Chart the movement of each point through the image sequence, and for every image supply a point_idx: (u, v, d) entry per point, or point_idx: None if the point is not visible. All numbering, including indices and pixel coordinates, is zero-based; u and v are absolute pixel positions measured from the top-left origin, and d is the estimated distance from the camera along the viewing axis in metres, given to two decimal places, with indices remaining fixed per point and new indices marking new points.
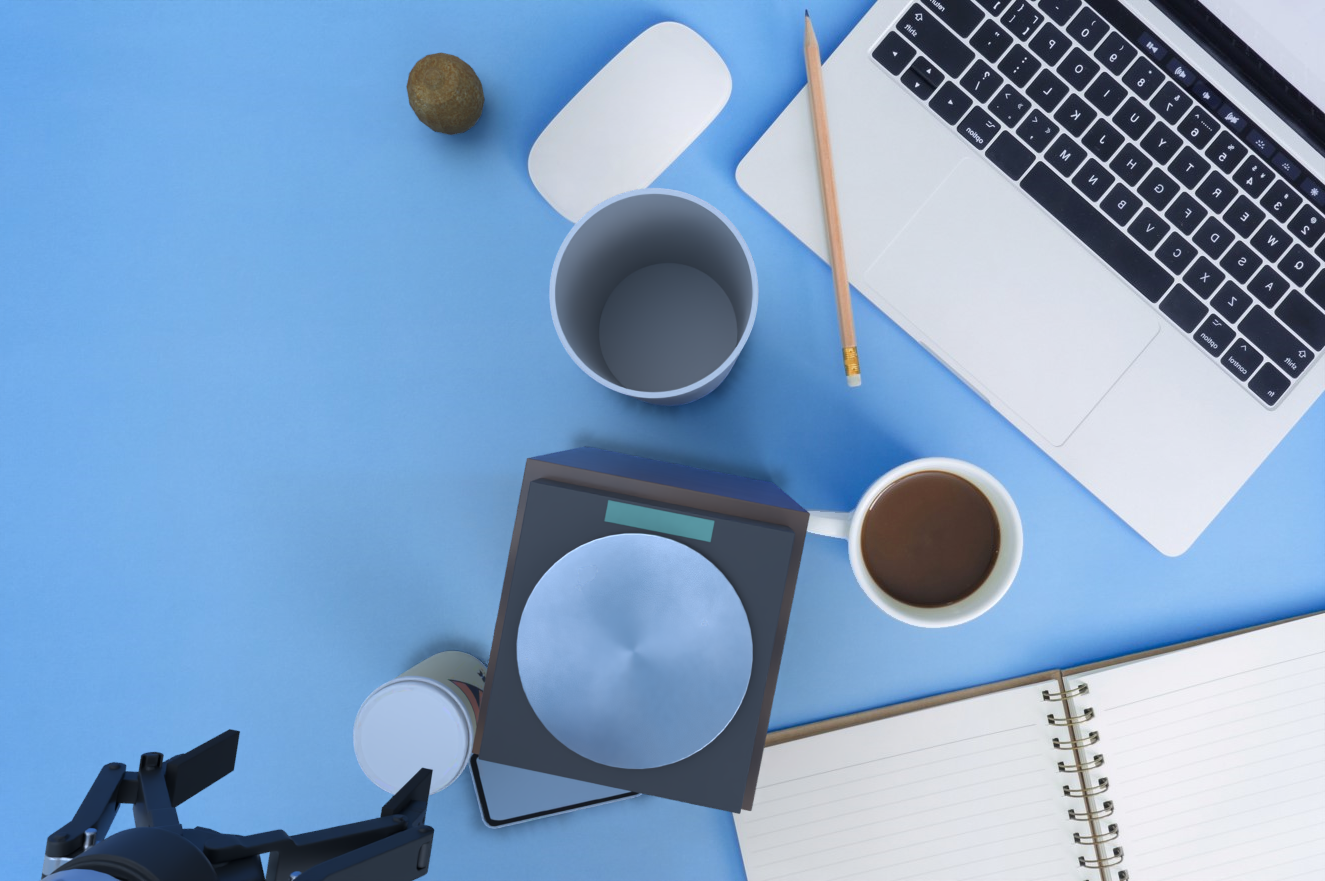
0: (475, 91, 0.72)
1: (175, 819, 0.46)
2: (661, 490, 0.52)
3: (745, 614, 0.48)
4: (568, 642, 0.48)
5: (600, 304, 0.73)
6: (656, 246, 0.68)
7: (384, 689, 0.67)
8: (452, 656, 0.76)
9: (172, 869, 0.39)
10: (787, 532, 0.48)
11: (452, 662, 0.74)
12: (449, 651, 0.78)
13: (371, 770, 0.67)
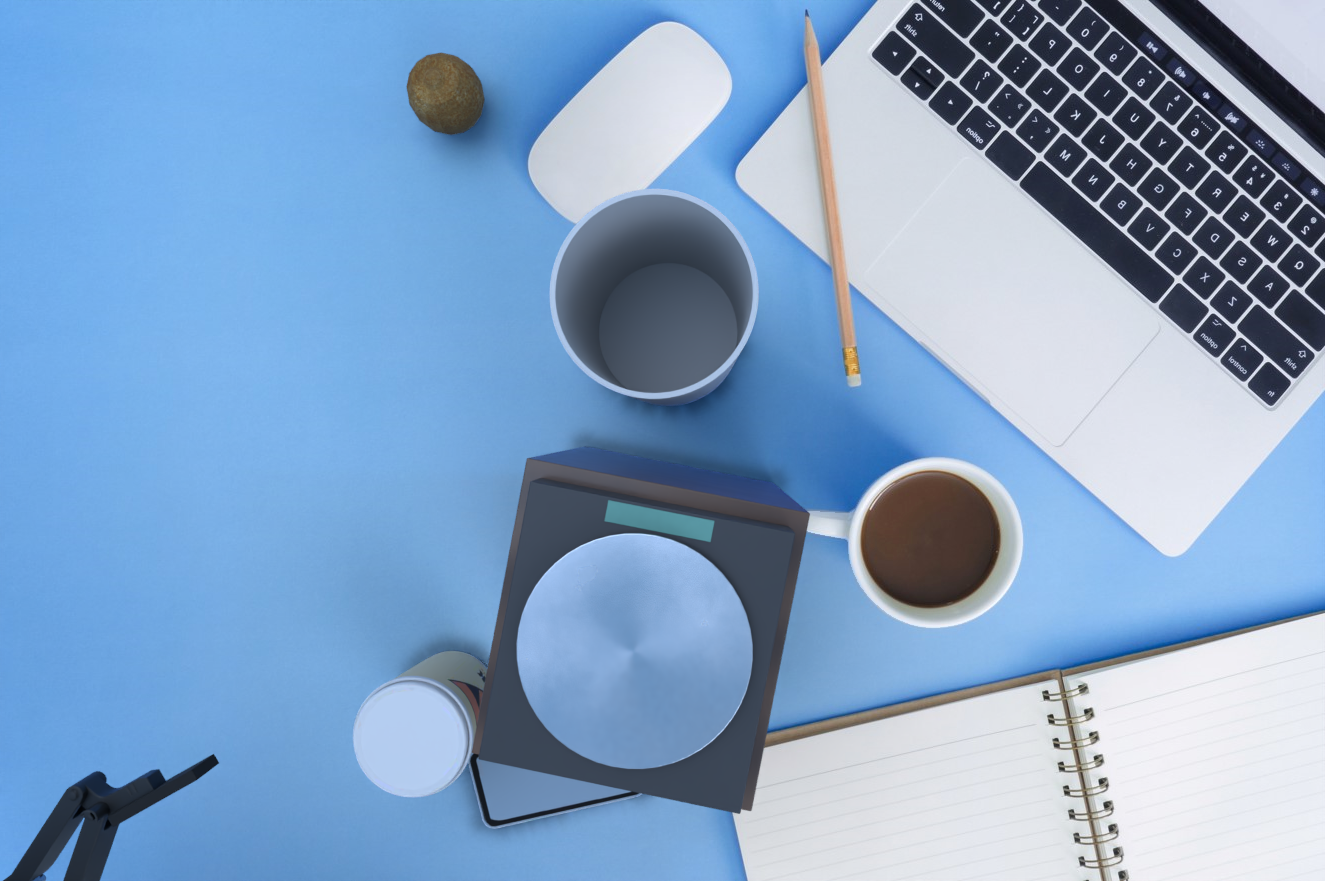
0: (475, 91, 0.72)
1: None
2: (661, 490, 0.52)
3: (745, 614, 0.48)
4: (568, 642, 0.48)
5: (600, 304, 0.73)
6: (656, 246, 0.68)
7: (384, 689, 0.67)
8: (452, 656, 0.76)
9: None
10: (787, 532, 0.48)
11: (452, 662, 0.74)
12: (449, 651, 0.78)
13: (371, 770, 0.67)
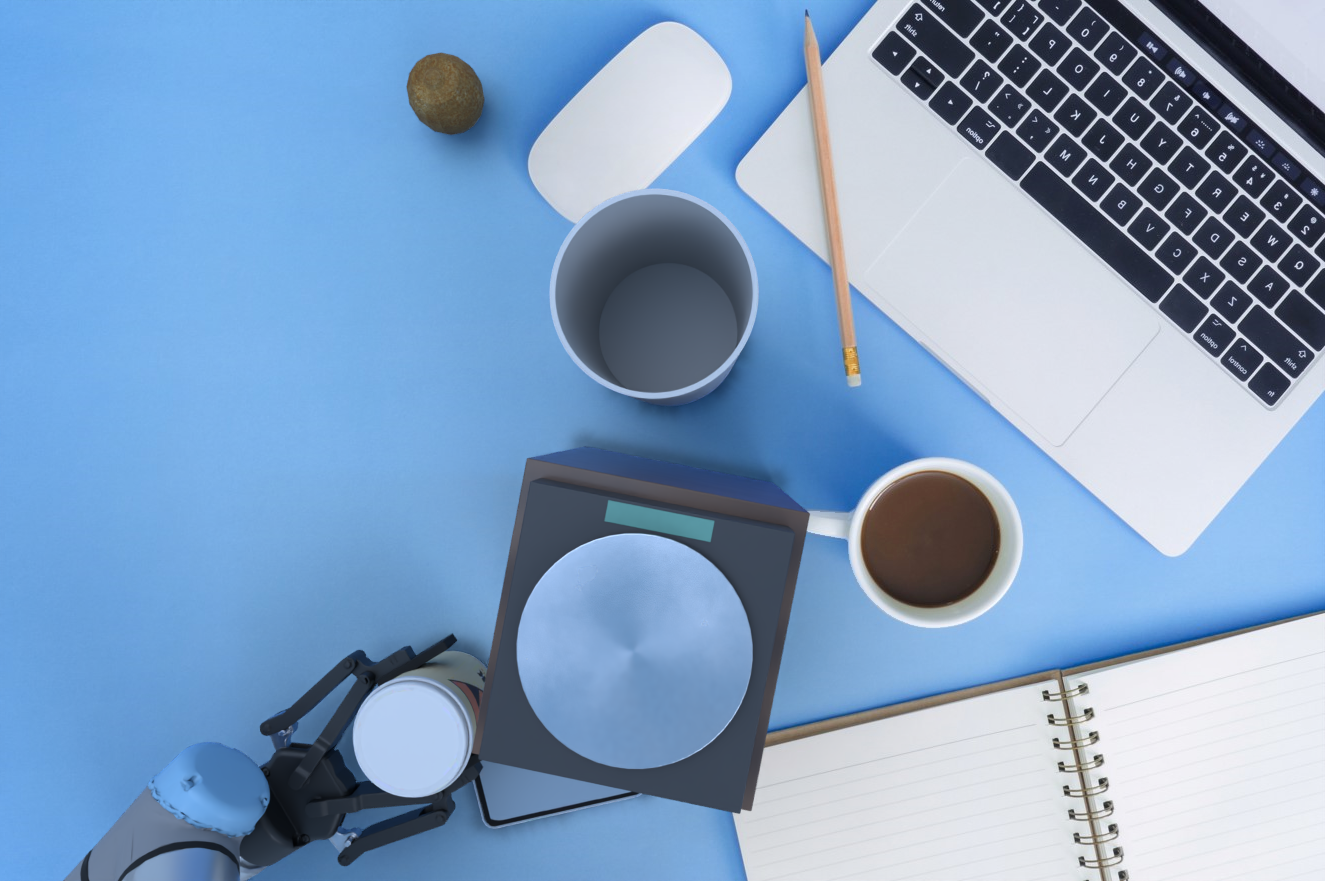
0: (475, 91, 0.72)
1: None
2: (661, 490, 0.52)
3: (745, 614, 0.48)
4: (568, 642, 0.48)
5: (600, 304, 0.73)
6: (656, 246, 0.68)
7: (384, 689, 0.67)
8: (452, 656, 0.76)
9: None
10: (787, 532, 0.48)
11: (452, 662, 0.74)
12: (449, 651, 0.78)
13: (371, 770, 0.67)
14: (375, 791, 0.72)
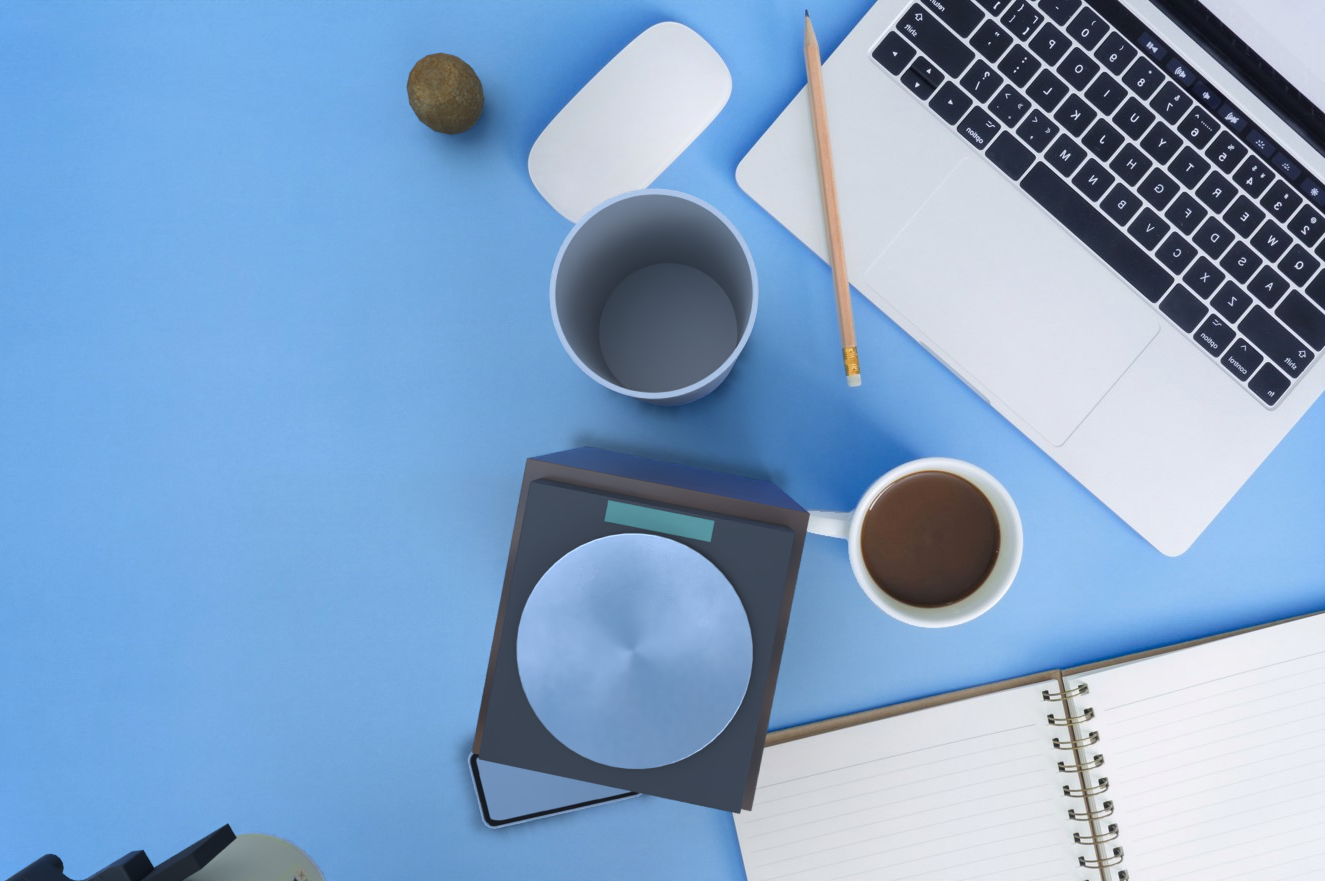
0: (475, 91, 0.72)
1: None
2: (661, 490, 0.52)
3: (745, 614, 0.48)
4: (568, 642, 0.48)
5: (600, 304, 0.73)
6: (656, 246, 0.68)
7: None
8: (242, 854, 0.41)
9: None
10: (787, 532, 0.48)
11: (232, 876, 0.39)
12: (247, 836, 0.43)
13: None
14: None
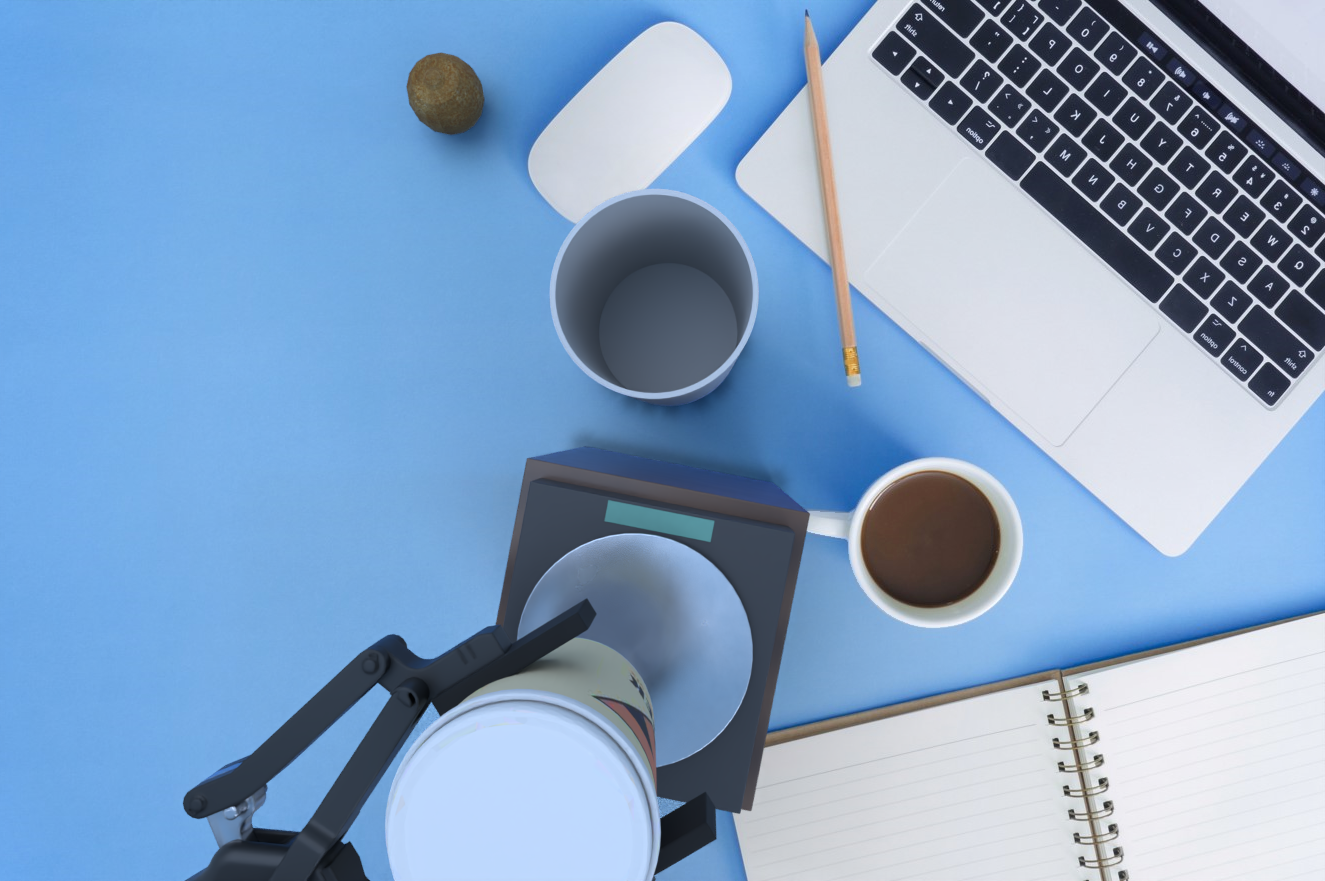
0: (475, 91, 0.72)
1: None
2: (661, 490, 0.52)
3: (745, 614, 0.48)
4: None
5: (600, 304, 0.73)
6: (656, 246, 0.68)
7: (458, 721, 0.29)
8: (577, 647, 0.38)
9: None
10: (787, 532, 0.48)
11: (584, 660, 0.36)
12: None
13: None
14: None
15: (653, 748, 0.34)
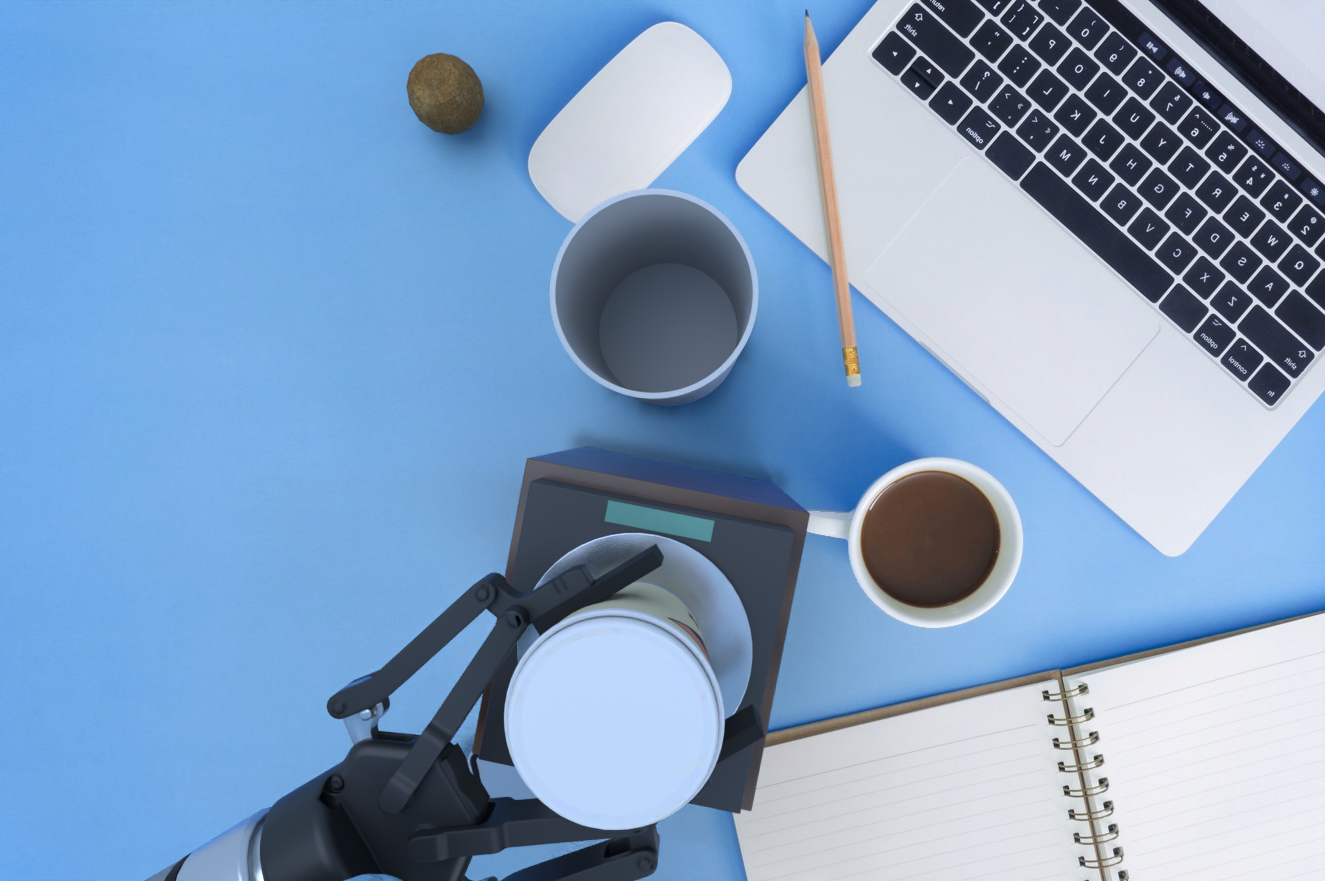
0: (475, 91, 0.72)
1: None
2: (661, 490, 0.52)
3: (745, 613, 0.48)
4: None
5: (600, 304, 0.73)
6: (656, 246, 0.68)
7: (565, 631, 0.36)
8: (643, 587, 0.45)
9: None
10: (787, 532, 0.48)
11: (652, 595, 0.44)
12: None
13: (541, 781, 0.37)
14: (528, 816, 0.41)
15: None
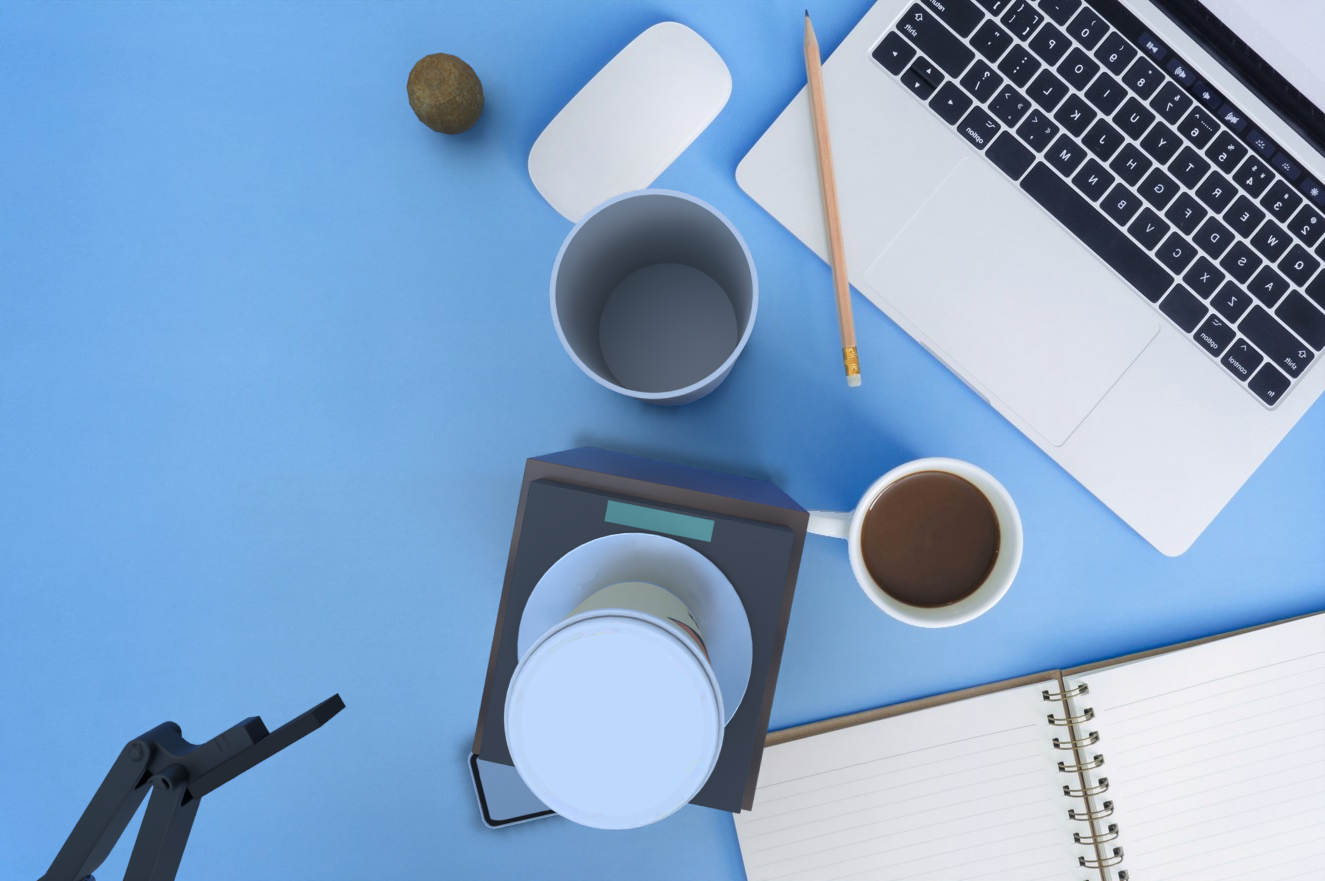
0: (475, 91, 0.72)
1: None
2: (661, 490, 0.52)
3: (745, 613, 0.48)
4: None
5: (600, 304, 0.73)
6: (656, 246, 0.68)
7: (565, 631, 0.36)
8: (643, 587, 0.45)
9: None
10: (787, 532, 0.48)
11: (652, 595, 0.44)
12: (630, 582, 0.48)
13: (541, 780, 0.37)
14: None
15: None
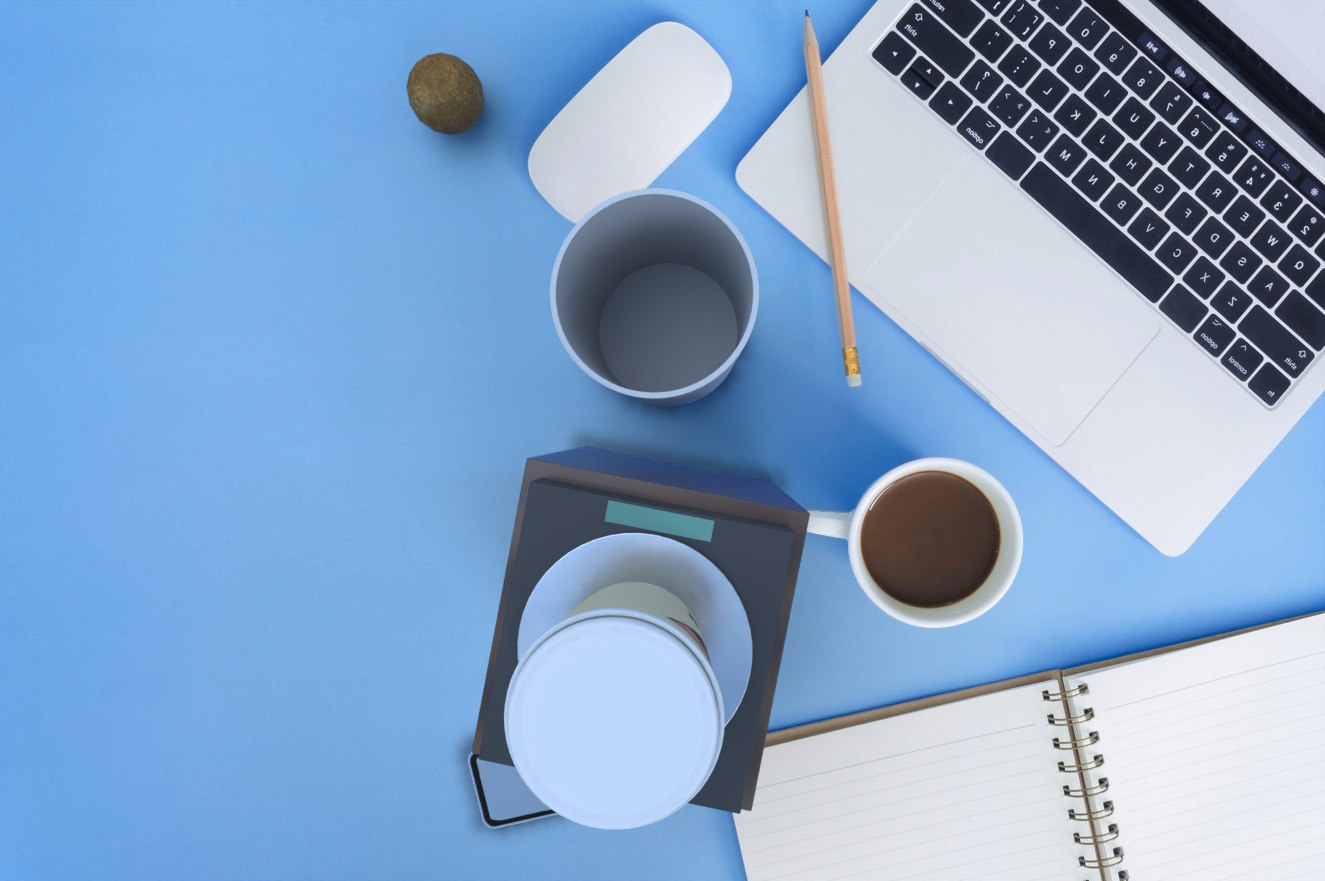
0: (475, 91, 0.72)
1: None
2: (661, 490, 0.52)
3: (745, 613, 0.48)
4: None
5: (600, 304, 0.73)
6: (656, 246, 0.68)
7: (565, 631, 0.36)
8: (643, 587, 0.45)
9: None
10: (787, 532, 0.48)
11: (652, 595, 0.44)
12: (630, 582, 0.48)
13: (541, 780, 0.37)
14: None
15: None
